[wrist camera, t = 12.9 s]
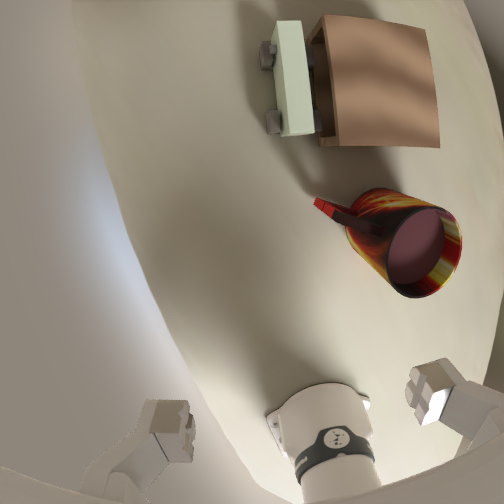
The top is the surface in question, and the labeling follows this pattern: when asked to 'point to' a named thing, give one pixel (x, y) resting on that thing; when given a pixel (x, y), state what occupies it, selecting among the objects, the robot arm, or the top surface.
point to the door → (291, 79)
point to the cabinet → (368, 84)
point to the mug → (401, 239)
